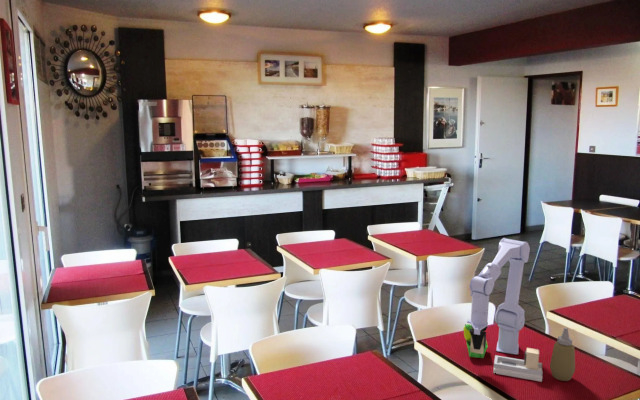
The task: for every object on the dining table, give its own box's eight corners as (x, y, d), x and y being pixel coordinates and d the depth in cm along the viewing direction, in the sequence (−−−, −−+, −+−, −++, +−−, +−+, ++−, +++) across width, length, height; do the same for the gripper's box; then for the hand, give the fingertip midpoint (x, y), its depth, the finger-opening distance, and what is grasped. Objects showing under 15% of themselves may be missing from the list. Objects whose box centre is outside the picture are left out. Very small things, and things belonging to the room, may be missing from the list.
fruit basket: (487, 360, 198) (489, 331, 196) (462, 357, 200) (464, 329, 198) (484, 347, 209) (486, 320, 207) (461, 345, 211) (462, 318, 209)
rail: (494, 361, 197) (496, 339, 196) (541, 369, 191) (543, 347, 190) (493, 373, 188) (494, 350, 187) (541, 381, 182) (543, 358, 181)
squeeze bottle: (572, 374, 188) (577, 325, 185) (575, 384, 180) (580, 334, 178) (548, 370, 191) (552, 322, 188) (549, 380, 183) (554, 331, 180)
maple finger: (471, 347, 192) (472, 329, 191) (485, 349, 191) (486, 331, 190) (470, 352, 189) (471, 333, 188) (484, 354, 187) (485, 335, 186)
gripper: (470, 302, 196) (468, 337, 198) (465, 315, 182) (463, 352, 184) (490, 304, 193) (487, 340, 195) (487, 318, 180) (484, 356, 182)
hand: (477, 346), depth 190 cm, fingers closed on maple finger, 4 cm apart
